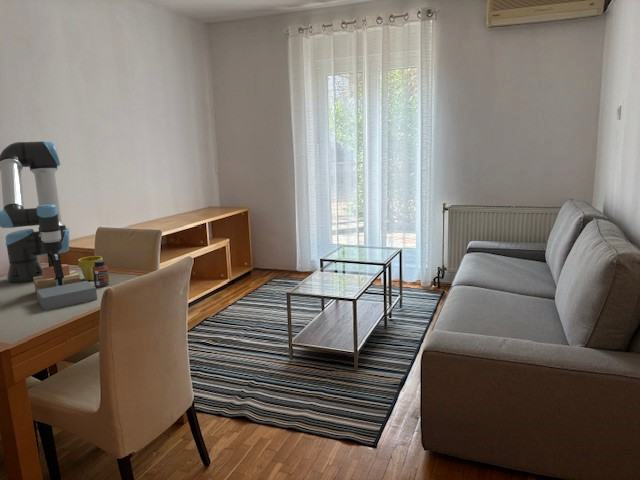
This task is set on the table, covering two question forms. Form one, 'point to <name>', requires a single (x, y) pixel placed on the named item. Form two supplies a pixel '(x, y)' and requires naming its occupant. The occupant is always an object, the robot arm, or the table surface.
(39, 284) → the beige block
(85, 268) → the plant pot
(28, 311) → the table surface
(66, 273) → the crate
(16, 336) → the table surface
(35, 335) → the table surface
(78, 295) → the block
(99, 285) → the supplement bottle
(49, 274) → the crate
